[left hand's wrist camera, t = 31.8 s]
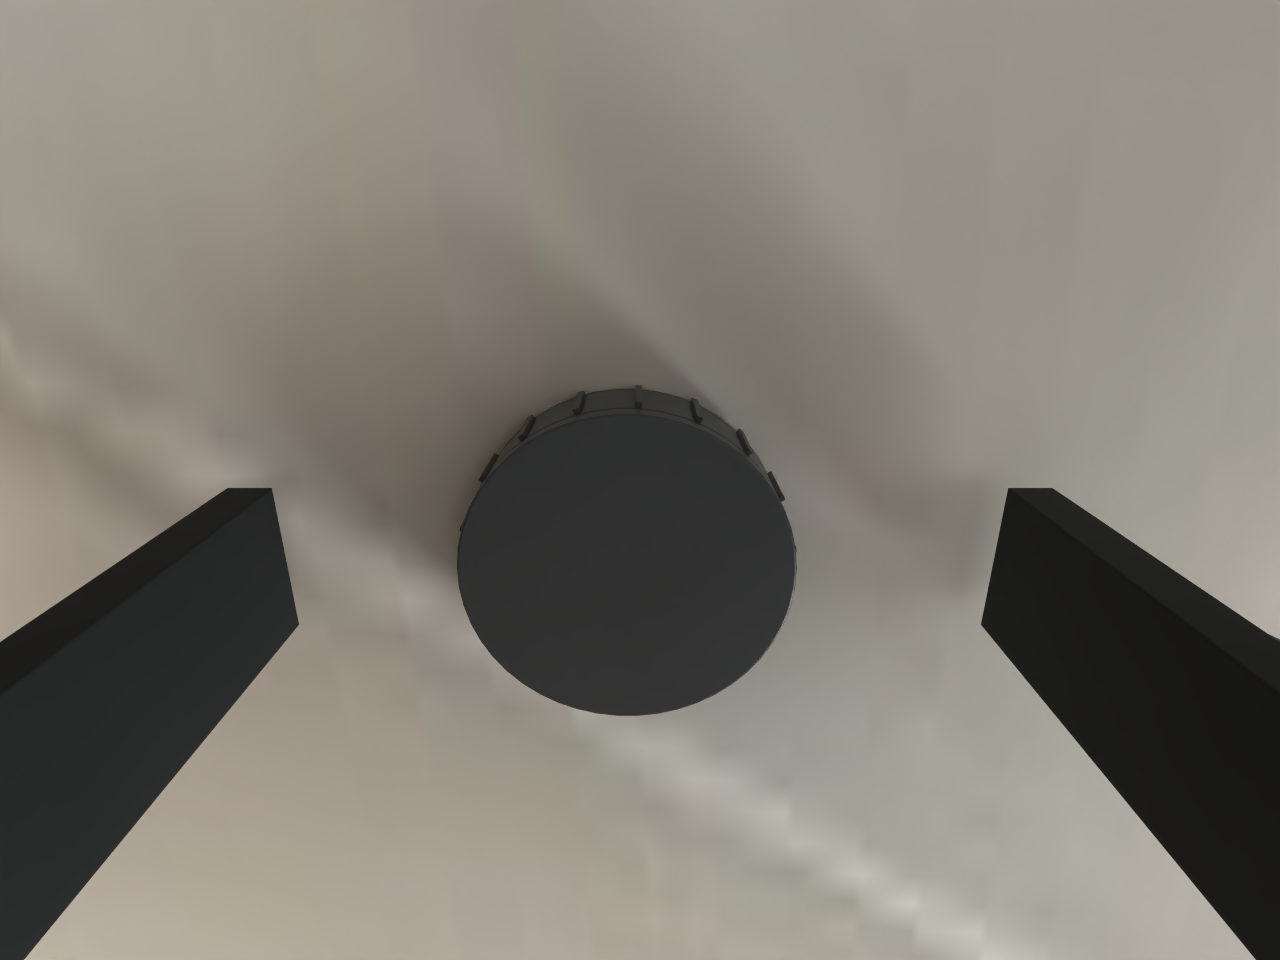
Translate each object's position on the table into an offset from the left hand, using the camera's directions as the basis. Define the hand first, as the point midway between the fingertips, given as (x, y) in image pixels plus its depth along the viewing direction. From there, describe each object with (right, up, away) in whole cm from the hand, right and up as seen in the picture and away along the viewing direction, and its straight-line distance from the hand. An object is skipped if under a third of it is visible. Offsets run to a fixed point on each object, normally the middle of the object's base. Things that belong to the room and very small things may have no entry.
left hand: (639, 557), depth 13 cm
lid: (0, 0, 0) cm, 1 cm away
